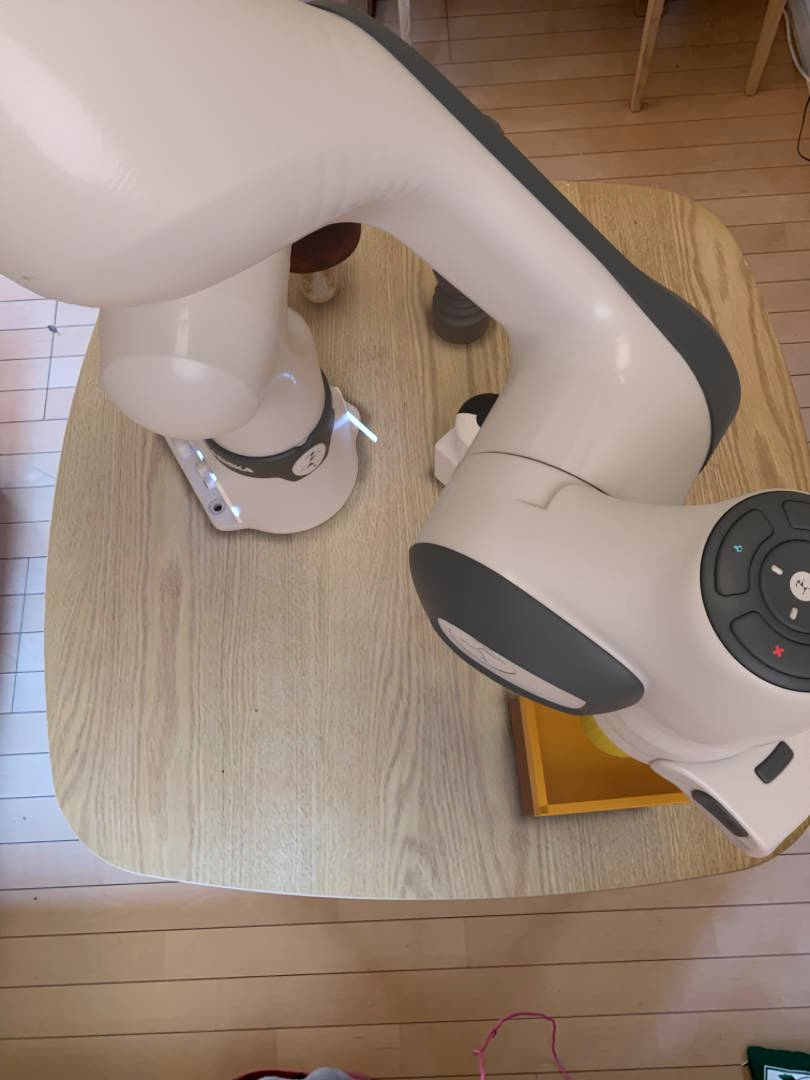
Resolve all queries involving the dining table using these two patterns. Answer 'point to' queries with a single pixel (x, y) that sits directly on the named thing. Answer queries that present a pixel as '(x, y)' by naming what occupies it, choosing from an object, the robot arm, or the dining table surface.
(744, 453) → the dining table surface
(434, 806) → the dining table surface
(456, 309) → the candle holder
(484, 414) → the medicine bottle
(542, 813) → the ochre tray
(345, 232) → the decorative mushroom
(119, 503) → the dining table surface
